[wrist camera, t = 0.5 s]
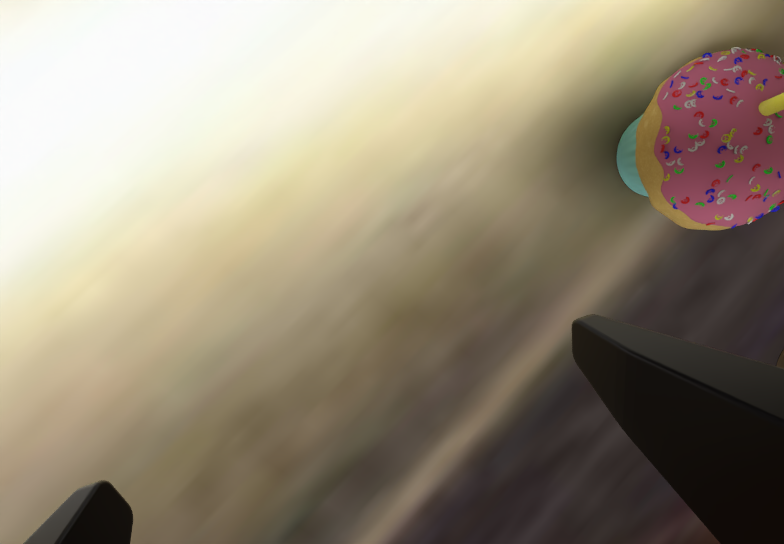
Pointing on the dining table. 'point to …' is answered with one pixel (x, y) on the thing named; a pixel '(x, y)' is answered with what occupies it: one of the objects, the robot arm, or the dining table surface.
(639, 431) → the robot arm
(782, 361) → the pepper mill
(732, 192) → the cupcake
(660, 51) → the dining table surface
